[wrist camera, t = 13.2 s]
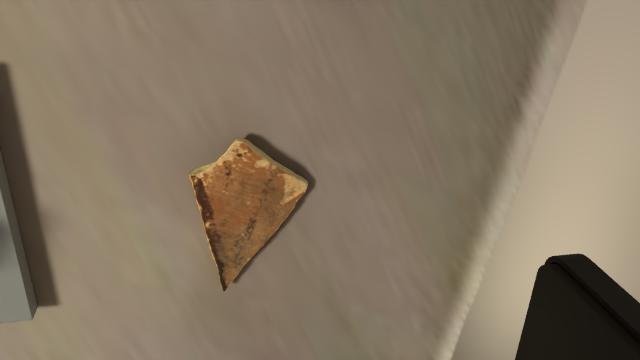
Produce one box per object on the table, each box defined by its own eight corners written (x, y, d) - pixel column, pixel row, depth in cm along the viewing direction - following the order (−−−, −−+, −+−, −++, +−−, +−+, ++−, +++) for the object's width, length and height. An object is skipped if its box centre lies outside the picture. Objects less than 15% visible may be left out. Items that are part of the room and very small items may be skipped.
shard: (223, 280, 43) (224, 294, 42) (136, 235, 40) (134, 249, 38) (309, 178, 41) (314, 189, 39) (225, 121, 38) (227, 131, 36)
